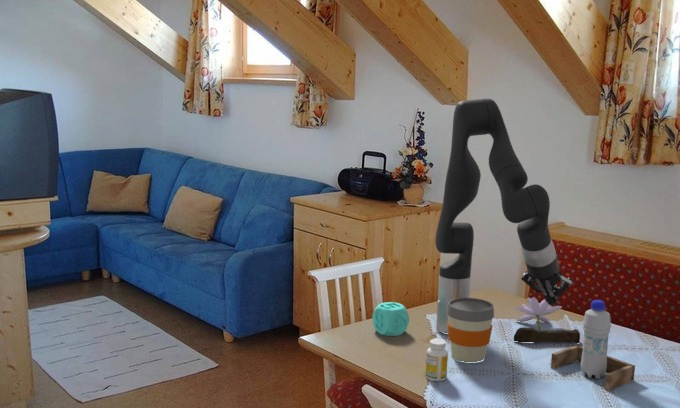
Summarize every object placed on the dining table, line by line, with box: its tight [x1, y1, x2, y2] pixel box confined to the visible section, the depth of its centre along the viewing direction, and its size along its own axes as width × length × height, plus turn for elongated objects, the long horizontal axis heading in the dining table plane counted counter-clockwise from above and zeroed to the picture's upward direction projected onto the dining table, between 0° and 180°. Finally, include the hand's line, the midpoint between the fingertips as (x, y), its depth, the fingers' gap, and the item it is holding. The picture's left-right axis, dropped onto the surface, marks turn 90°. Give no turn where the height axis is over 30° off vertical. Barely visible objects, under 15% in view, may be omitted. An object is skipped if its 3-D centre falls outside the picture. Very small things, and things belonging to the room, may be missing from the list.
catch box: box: [550, 344, 636, 392], centre depth 180 cm, size 11×17×4 cm, turn 36°
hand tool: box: [513, 327, 581, 344], centre depth 203 cm, size 19×4×5 cm, turn 90°
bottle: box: [580, 299, 612, 380], centre depth 179 cm, size 7×7×20 cm
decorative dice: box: [371, 301, 410, 337], centre depth 209 cm, size 8×8×8 cm
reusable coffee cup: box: [447, 297, 495, 362], centre depth 190 cm, size 13×13×15 cm
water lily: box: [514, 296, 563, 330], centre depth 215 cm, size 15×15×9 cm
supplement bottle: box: [424, 338, 449, 382], centre depth 176 cm, size 5×5×10 cm
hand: (552, 302), depth 178 cm, fingers closed
